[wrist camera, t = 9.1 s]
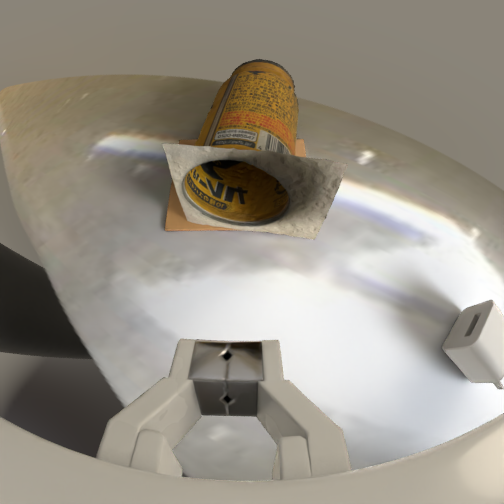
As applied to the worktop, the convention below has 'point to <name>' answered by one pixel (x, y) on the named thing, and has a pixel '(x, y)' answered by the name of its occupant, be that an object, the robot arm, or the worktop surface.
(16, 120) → the worktop surface
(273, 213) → the condiment
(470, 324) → the usb wall charger
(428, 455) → the robot arm
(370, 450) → the worktop surface
